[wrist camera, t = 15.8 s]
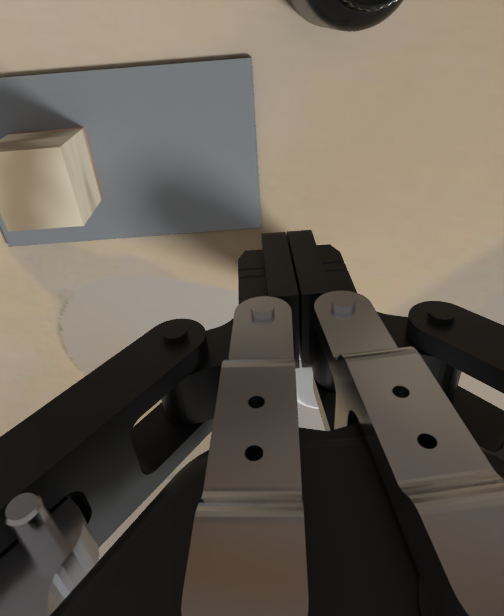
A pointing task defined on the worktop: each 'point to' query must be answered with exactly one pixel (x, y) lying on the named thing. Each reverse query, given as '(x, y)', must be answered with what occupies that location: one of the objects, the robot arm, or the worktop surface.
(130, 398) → the robot arm
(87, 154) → the birch cube
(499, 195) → the worktop surface
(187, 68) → the slate mat
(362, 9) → the supplement bottle
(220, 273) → the worktop surface
